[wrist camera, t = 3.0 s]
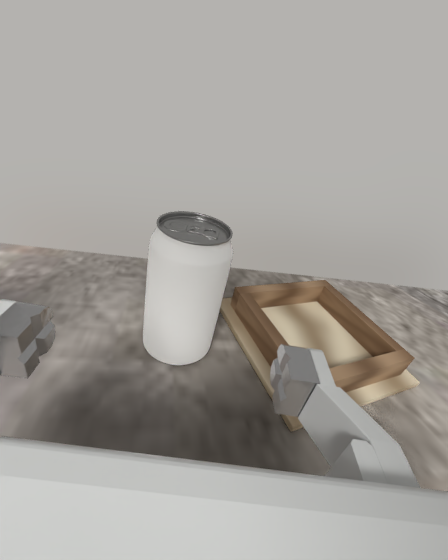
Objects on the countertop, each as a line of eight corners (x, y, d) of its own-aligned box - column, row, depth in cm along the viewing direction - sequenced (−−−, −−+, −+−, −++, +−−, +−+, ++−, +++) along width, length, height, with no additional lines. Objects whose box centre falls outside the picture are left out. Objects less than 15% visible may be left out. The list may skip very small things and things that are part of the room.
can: (153, 313, 30) (163, 203, 24) (213, 325, 30) (239, 220, 24) (132, 360, 25) (137, 233, 18) (205, 375, 25) (236, 255, 19)
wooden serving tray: (290, 432, 22) (304, 408, 20) (215, 302, 34) (220, 281, 32) (416, 386, 29) (434, 366, 27) (317, 292, 41) (326, 274, 39)
